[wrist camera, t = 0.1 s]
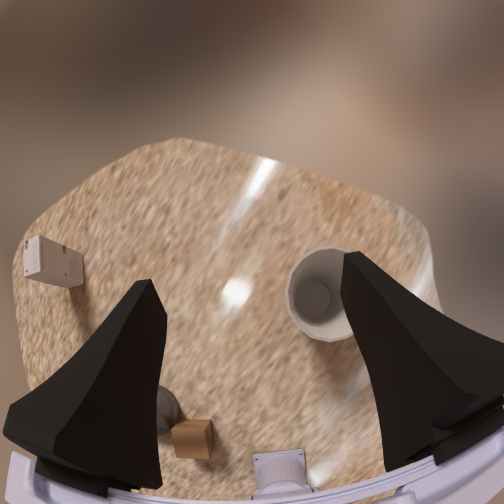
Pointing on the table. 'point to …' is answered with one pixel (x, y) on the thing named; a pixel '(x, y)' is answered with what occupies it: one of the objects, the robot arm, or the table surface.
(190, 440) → the walnut block
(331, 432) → the table surface
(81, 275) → the skincare box
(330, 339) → the plastic cup
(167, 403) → the grey metal cylinder
